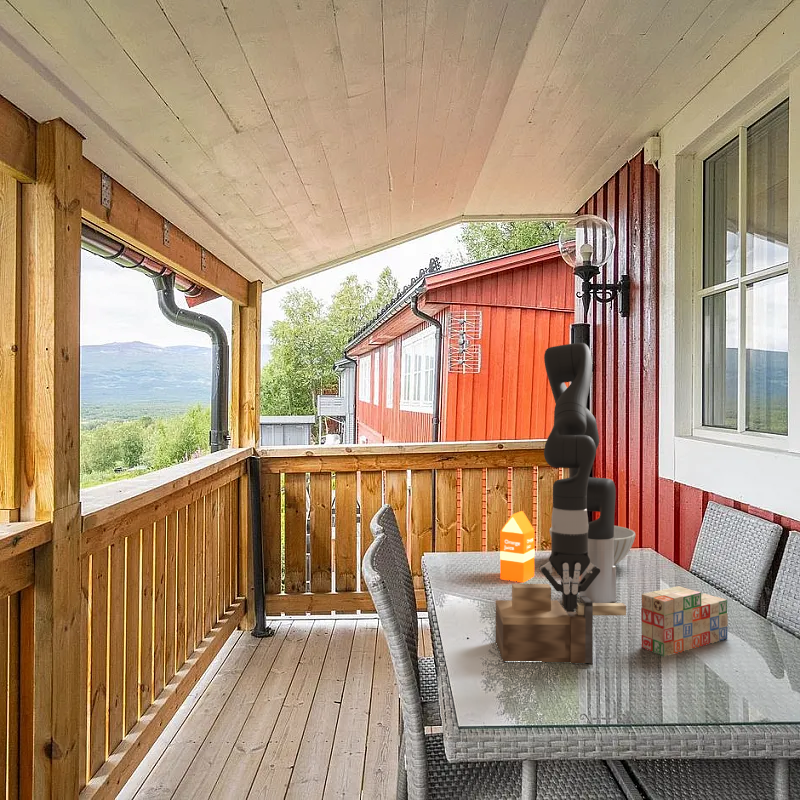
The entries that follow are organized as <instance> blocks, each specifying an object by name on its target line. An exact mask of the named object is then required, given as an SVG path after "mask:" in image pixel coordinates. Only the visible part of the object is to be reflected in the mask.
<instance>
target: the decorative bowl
mask: <svg viewBox="0 0 800 800" xmlns="http://www.w3.org/2000/svg"><path fill="white" fill-rule="evenodd" d="M551 530H552V526H551V527H550V528H549V531H548V532H549V535H550V536H551ZM635 538H636V532H635V531H634V530H633V529H630V528H627V527H624V526H618V525H614V565H615V566H616V565H617V564H619V563H620V562H621V561H622V560H624V558H625V557H627V555H628V554H629V552H630V550H631V549H632V546H633V545H634V542H635Z"/></svg>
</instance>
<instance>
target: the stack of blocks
mask: <svg viewBox="0 0 800 800" xmlns="http://www.w3.org/2000/svg"><path fill="white" fill-rule="evenodd" d="M640 611H641V615H640V617H641V648H642V647H643V648H642V649H644V648H645V650H646V649H648V650H647V651H649V650H650V651H649V652H651V651H653V652H652V653H654V652H656V653H655V654H657V653H658V654H657V655H659V654H660V655H659V656H661V655H663V656H662V657H667V656H666V655H668V656H671V655H670V654H672V655H674V654H673V653H676V654H679V653H678V652H680V653H683V652H682V651H684V652H686V651H685V650H688V651H690V650H689V649H692V648H694V649H696V648H695V647H698V648H700V647H699V646H701V647H704V646H703V645H705V646H707V645H706V644H708V645H710V644H709V643H712V644H715V643H714V642H716V643H718V642H717V641H719V642H721V641H720V640H723V641H725V640H724V639H727V640H728V631H729V630H728V618H729V617H728V615H729V613H728V599H725V598H722V597H719V596H713V595H711V594H708V593H704V592H703V593H702V592H701V591H697V590H694V589H689V588H686V587H684V586H680V585H678V586H673V587H672V586H671V587H668V588H663V589H659V590H655V591H650V592H643V593H641V609H640ZM692 650H693V649H692Z"/></svg>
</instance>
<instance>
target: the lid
mask: <svg viewBox="0 0 800 800" xmlns="http://www.w3.org/2000/svg"><path fill="white" fill-rule="evenodd" d="M496 609H497V611H498V614H499V616H500V618H501V621H502V623H503V625H570V617H569V615H568V614H567V613H566V612H567V611H566V610H565V609H564V608H563V606H562V604H561V603H560V602H559V600H557V599H556V600H555V599H553V600H552V587H551V584H549V583H511V599H510V600H508V599H506V600H505V599H504V600H503V599H495V610H496Z"/></svg>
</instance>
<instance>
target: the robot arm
mask: <svg viewBox="0 0 800 800" xmlns="http://www.w3.org/2000/svg"><path fill="white" fill-rule="evenodd" d="M543 359H544V367H545V372H546V376H547V379H548V382H549V385H550V390H551V393H552V396H553V400H554V403H555V405H554V413H553V426H552V429H551V431H550V433H549V435H548V437H547V439H546V441H545V444H544V449H543V455H544V456H543V457H544V459H545V461H546V463H547V464H548V465H549V466H550V467H551V468H555V469H556V468H557V469H569V477H567V478H566V477H565V478H560V479H557V480H555V481H554V482H553V485H552V513H551V527H552V530H551V535H550V538H551V543H550V544H551V546H550V548H551V551H550V555H549V557H548V561H547V562H546V563H545V564H541V565H540V566H539V567H538V568H539V571H540V572H541V573H542V575H543V576H544V577H545V578H546V579H547V581H548V582H549V583H550V586H552V587H553V588H554V590H555V591H556V592H560V593H561V602H562V603H561V606H562V607H563V609H564V610H565V611H566V612H575V610H576V608H577V603H578V598H579V599H580V596H587V597H588V598H589V599H590V600H591V601H592V602H593V603H617V566H616V565H614V526H615V513H616V499H617V495H616V493H617V491H616V485H615V482H614V481H613V480H612V479H611V478H605V477H591V476H590V474H591V471H592V467H593V466H594V465H593V464H594V461H595V458H596V454H597V449H598V448H599V443H600V436H599V435H600V434H599V429H598V426H597V425H598V424H597V420H596V417H595V416H594V415H593V413H592V412H591V411H590V410H589V409H588V408H587V405H588V404H587V403H588V396H589V393H590V388H591V382H592V375H593V359H592V353H591V350H590V348H589V346H588V345H587V344H586V343H585V342H575V343H569V344H560V345H554V346H550V347H548V348H547V349H545V352H544V357H543ZM566 383H570V384H569V385H568V386H567V385H566ZM588 512H597V513H600V514H599V517H598V518H596V519H594V520H592V521H589V517H588ZM552 567H553V569H554V571H555V572H556V573H557V575H559V579H560V583H558V582H557V580H556V579H555V578H554V577H553V575H552V573H553V569H552Z"/></svg>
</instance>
